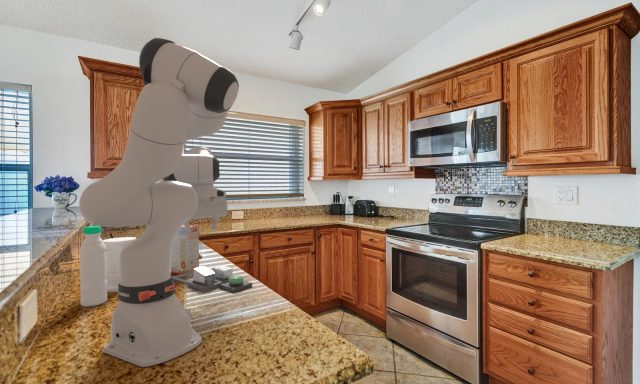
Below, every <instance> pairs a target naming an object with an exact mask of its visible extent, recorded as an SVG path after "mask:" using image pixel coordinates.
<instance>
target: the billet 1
mask: <svg viewBox="0 0 640 384" xmlns="http://www.w3.org/2000/svg"><path fill="white" fill-rule="evenodd" d="M192 275H193V277H192V280H193V282H195V283H196V284H199V285H202V286H208V285H211V284H214V277H215V273H214V272H213V270H211V269H210V268H207V267H206V266H199V267H198V268H194V274H192Z"/></svg>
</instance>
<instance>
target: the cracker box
mask: <svg viewBox="0 0 640 384" xmlns="http://www.w3.org/2000/svg"><path fill="white" fill-rule="evenodd" d="M189 225H190V224H189ZM190 227H193V232H191V233H187V232H186V227H185V225H184V224H183V225H182V227H181V228H180V229H179V231H178V233H177V235H176V237H175V239H174V242H173V245H172V252H171V274H172V273H173V274H177V275H181V274H185V273H189V272H194V268H198V267H200V242H199V241H200V239H199V238H200V237H199V236H200V235H199V234H200V233H199V225H190Z"/></svg>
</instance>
